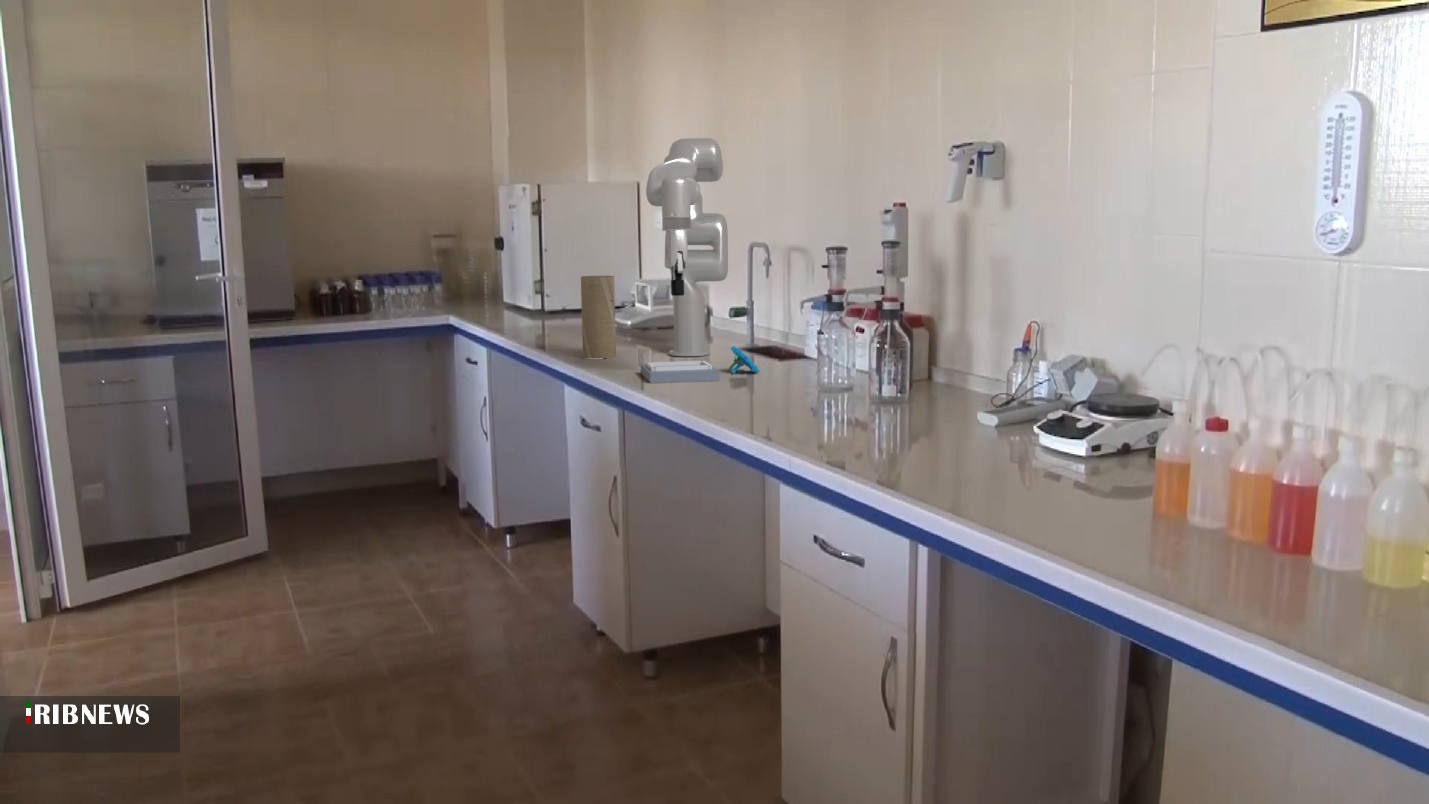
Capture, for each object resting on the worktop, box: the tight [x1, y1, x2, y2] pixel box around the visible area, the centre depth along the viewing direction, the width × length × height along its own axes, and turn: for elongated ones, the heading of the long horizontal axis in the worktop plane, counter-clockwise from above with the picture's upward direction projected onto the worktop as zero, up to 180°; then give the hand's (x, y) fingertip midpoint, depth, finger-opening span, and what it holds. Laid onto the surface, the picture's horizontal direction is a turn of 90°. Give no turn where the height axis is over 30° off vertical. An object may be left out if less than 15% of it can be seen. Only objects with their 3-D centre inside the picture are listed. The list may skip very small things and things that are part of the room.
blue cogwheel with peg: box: [728, 345, 760, 375], centre depth 311 cm, size 11×6×10 cm
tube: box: [580, 275, 617, 359], centre depth 348 cm, size 10×10×25 cm
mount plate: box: [640, 360, 720, 384], centre depth 307 cm, size 20×18×4 cm
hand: (677, 295), depth 303 cm, fingers closed
